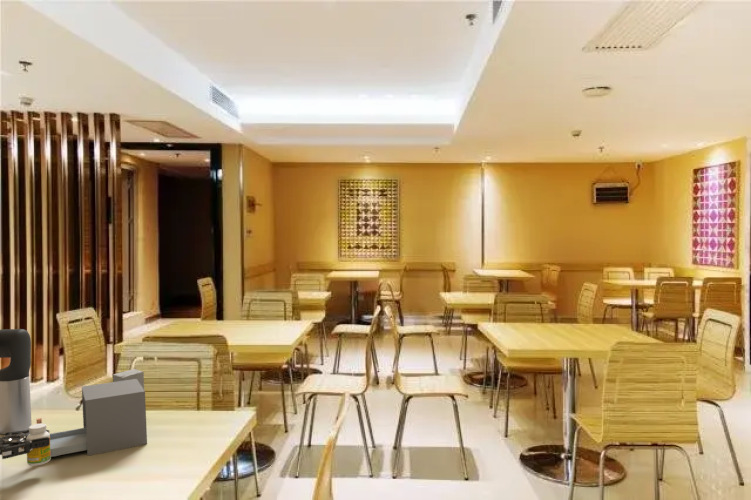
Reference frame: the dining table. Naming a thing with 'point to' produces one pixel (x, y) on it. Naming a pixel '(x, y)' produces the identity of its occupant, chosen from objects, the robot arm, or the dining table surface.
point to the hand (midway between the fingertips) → (49, 437)
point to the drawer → (67, 441)
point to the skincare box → (130, 376)
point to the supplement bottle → (42, 453)
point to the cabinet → (114, 416)
